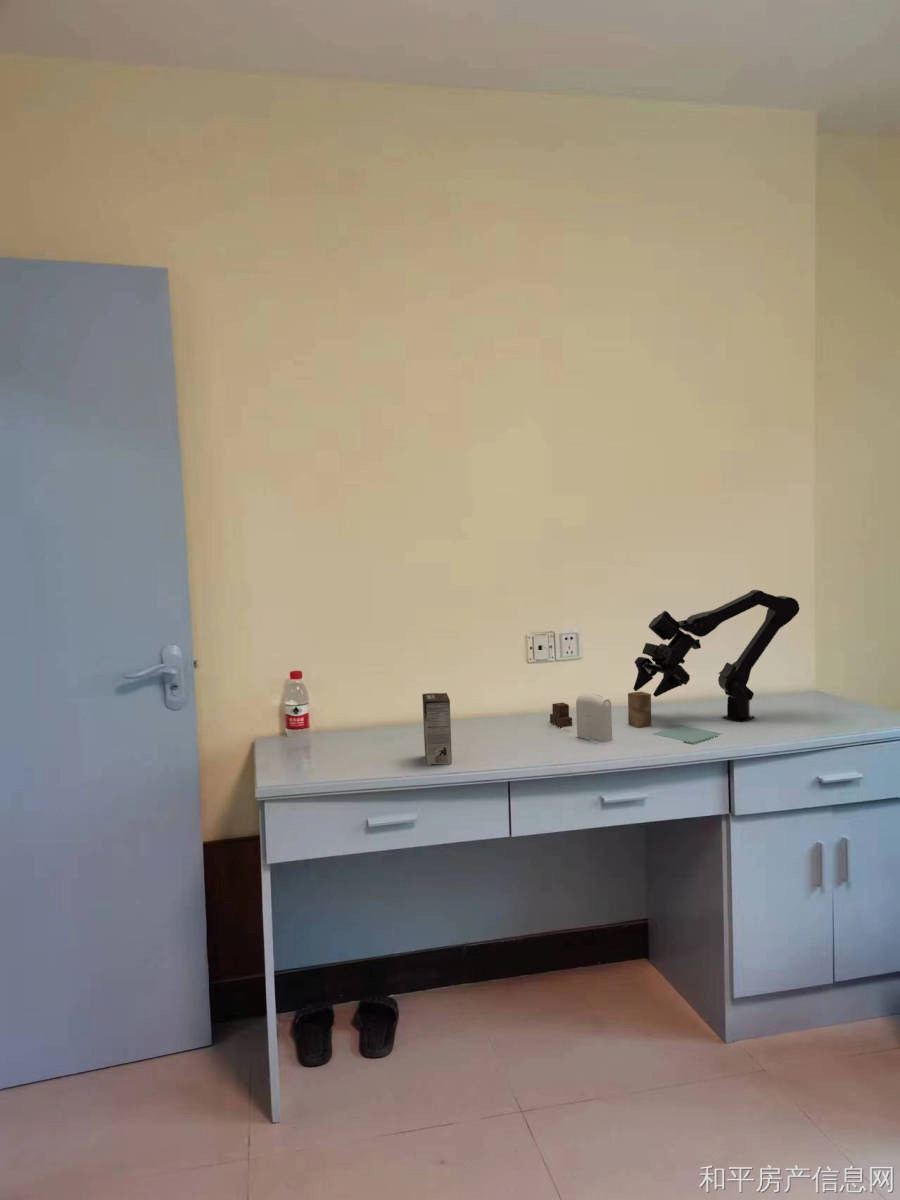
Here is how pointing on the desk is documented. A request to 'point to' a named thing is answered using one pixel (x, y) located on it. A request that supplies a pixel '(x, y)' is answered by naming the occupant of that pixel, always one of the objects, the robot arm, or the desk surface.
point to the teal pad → (687, 734)
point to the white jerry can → (594, 717)
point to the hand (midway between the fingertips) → (644, 692)
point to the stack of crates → (561, 715)
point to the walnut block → (639, 709)
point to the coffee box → (437, 728)
